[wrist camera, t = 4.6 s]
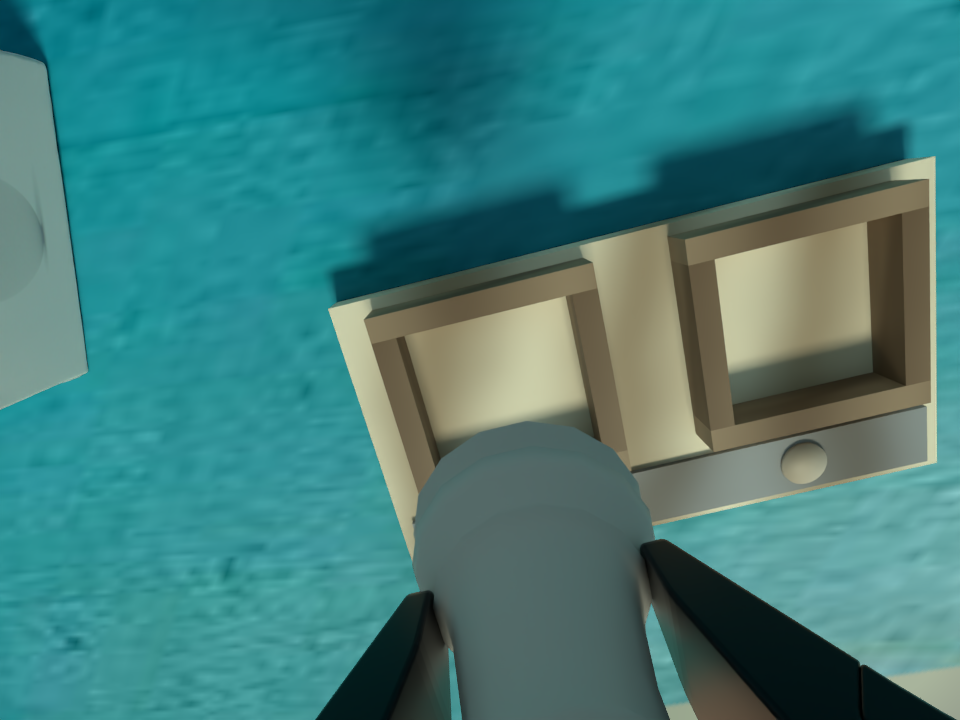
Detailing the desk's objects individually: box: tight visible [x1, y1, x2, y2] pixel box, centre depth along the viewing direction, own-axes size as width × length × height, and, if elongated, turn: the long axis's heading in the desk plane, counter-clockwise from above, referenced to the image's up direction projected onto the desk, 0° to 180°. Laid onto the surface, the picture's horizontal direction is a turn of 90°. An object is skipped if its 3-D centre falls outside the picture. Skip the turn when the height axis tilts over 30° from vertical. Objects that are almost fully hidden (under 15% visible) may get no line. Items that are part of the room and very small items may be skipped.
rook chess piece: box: [412, 421, 670, 720], centre depth 7 cm, size 4×4×8 cm
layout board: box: [328, 156, 937, 561], centre depth 19 cm, size 20×11×3 cm, turn 104°
